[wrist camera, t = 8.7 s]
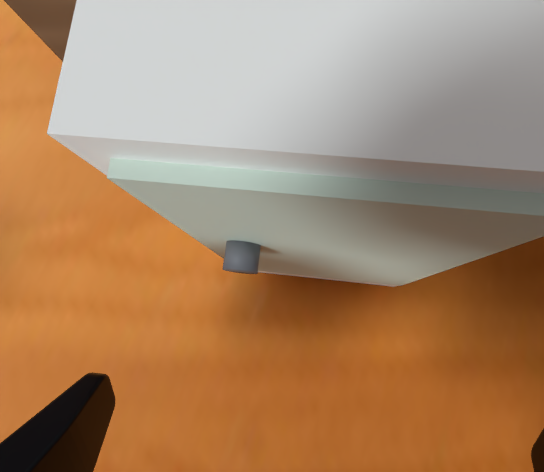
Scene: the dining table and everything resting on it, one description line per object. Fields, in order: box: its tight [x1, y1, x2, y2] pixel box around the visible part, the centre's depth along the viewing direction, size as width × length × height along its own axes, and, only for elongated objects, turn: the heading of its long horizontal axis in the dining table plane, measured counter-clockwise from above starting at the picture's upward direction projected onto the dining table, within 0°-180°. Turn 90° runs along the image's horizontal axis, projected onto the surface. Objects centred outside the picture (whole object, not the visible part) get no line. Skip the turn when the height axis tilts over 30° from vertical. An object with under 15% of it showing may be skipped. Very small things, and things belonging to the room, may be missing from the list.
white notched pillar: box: [47, 0, 544, 287], centre depth 11 cm, size 6×6×13 cm
